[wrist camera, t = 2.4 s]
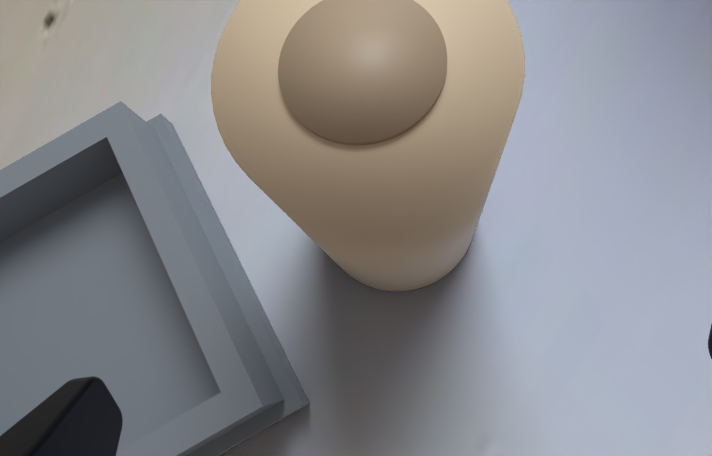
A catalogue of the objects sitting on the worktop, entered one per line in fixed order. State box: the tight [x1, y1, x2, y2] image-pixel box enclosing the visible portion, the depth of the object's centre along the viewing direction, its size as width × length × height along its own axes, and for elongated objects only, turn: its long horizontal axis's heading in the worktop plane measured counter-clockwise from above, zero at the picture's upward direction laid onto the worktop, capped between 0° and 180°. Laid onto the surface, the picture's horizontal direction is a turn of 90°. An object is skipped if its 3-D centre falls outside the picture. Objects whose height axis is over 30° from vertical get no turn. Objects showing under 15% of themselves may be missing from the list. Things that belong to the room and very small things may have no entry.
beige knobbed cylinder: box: [211, 0, 525, 292], centre depth 15 cm, size 6×6×11 cm
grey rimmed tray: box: [0, 101, 310, 456], centre depth 20 cm, size 13×13×4 cm
